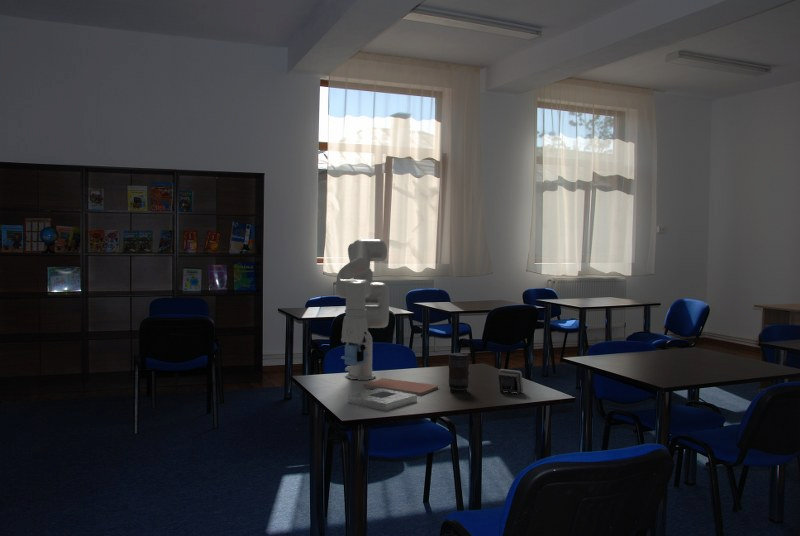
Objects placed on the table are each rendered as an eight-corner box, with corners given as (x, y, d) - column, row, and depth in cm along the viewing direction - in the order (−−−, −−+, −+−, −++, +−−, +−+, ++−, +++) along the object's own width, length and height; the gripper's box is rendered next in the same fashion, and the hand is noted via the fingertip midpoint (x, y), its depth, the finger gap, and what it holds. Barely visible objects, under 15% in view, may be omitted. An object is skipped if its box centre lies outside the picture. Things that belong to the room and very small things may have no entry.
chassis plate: (348, 402, 236) (348, 395, 236) (379, 394, 250) (380, 388, 250) (385, 410, 225) (385, 403, 225) (416, 401, 239) (416, 394, 239)
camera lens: (457, 388, 263) (457, 351, 262) (472, 391, 257) (473, 354, 257) (444, 391, 257) (444, 353, 257) (459, 394, 251) (460, 356, 251)
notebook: (361, 389, 261) (361, 384, 261) (382, 382, 276) (382, 377, 276) (419, 397, 247) (419, 392, 247) (439, 389, 262) (439, 384, 262)
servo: (349, 366, 242) (349, 344, 242) (341, 365, 245) (341, 343, 244) (368, 362, 251) (369, 341, 250) (360, 360, 254) (360, 339, 253)
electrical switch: (523, 392, 256) (523, 370, 255) (519, 396, 252) (518, 373, 250) (501, 390, 261) (501, 367, 260) (496, 393, 256) (496, 370, 255)
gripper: (332, 312, 249) (332, 358, 250) (365, 316, 238) (365, 364, 240) (346, 310, 255) (345, 356, 256) (378, 314, 244) (378, 361, 245)
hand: (355, 359), depth 248 cm, fingers closed on servo, 4 cm apart
